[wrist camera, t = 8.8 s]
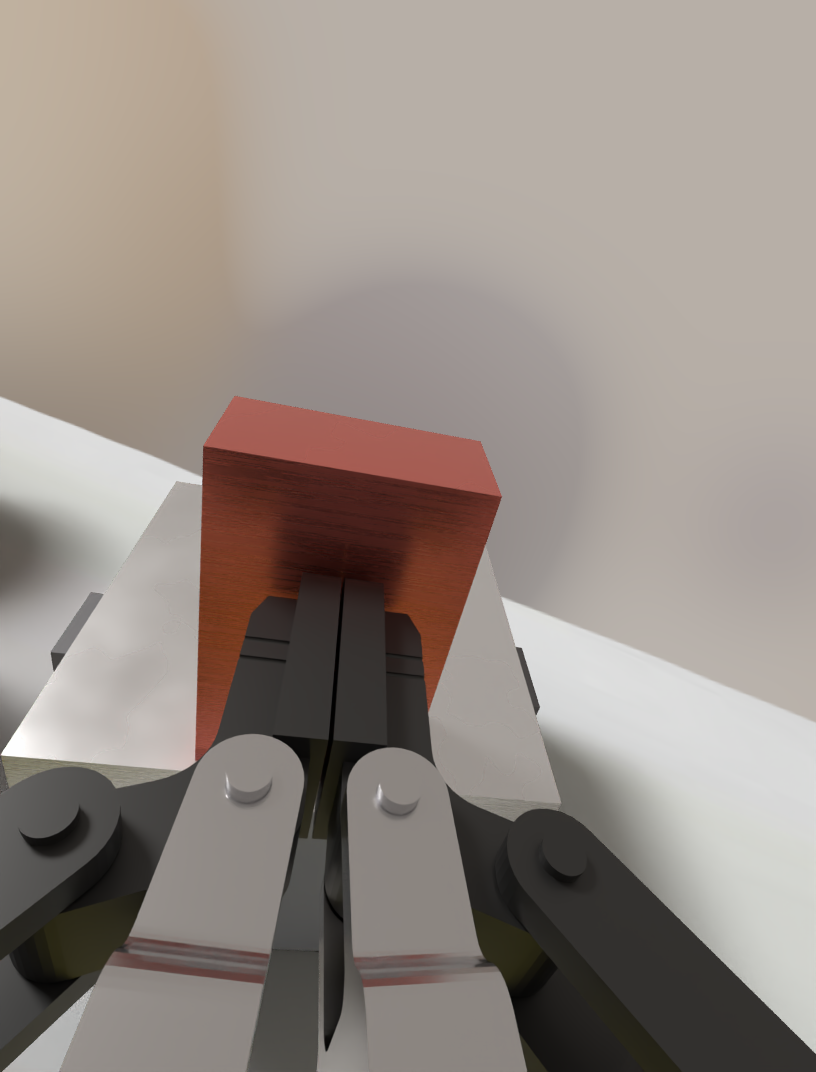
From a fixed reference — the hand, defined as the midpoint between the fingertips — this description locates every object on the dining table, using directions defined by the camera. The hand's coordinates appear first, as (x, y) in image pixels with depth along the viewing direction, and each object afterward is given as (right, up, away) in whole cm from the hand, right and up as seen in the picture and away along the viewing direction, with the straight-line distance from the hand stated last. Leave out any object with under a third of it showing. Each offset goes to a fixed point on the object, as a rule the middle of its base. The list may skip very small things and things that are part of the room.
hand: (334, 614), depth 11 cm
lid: (-2, -2, +9) cm, 9 cm away
